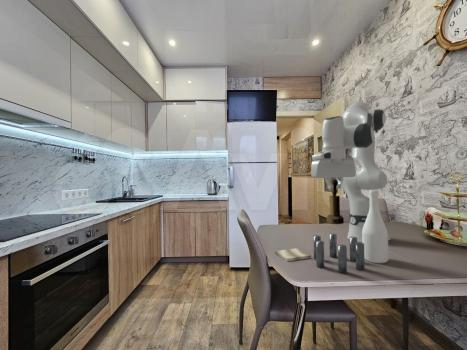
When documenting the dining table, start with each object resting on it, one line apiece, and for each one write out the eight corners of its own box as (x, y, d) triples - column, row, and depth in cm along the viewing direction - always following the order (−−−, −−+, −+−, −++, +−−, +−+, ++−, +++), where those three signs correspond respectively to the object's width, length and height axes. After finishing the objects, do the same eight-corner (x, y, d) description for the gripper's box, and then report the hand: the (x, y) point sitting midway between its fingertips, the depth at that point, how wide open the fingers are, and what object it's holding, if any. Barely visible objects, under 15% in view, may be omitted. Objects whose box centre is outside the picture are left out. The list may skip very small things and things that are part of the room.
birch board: (297, 250, 115) (296, 248, 115) (311, 258, 105) (310, 255, 105) (275, 253, 111) (274, 251, 111) (287, 261, 101) (287, 258, 101)
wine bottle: (358, 256, 106) (357, 189, 106) (379, 255, 106) (378, 189, 106) (369, 264, 97) (368, 190, 97) (393, 263, 96) (392, 190, 96)
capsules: (341, 254, 109) (340, 232, 109) (374, 268, 92) (374, 242, 92) (304, 259, 103) (303, 236, 103) (333, 275, 86) (332, 248, 86)
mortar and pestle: (323, 221, 101) (322, 179, 101) (337, 220, 102) (336, 179, 102) (332, 224, 94) (331, 179, 94) (347, 223, 95) (346, 179, 95)
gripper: (347, 156, 104) (348, 187, 104) (308, 155, 98) (309, 189, 98) (359, 154, 98) (360, 188, 98) (318, 154, 92) (319, 190, 92)
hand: (334, 188), depth 98 cm, fingers closed on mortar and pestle, 2 cm apart
